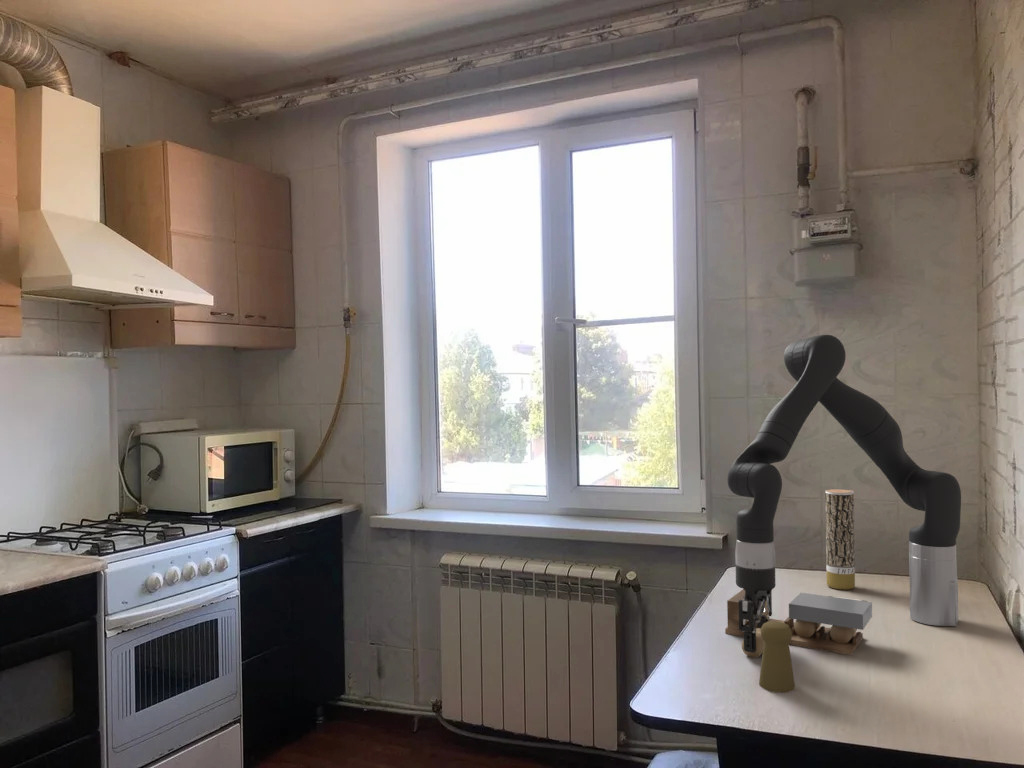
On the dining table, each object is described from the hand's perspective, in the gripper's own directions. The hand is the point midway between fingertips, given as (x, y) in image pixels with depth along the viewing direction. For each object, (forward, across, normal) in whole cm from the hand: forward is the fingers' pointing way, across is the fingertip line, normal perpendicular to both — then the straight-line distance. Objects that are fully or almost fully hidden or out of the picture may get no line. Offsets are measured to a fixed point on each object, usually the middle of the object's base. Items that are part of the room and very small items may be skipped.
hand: (756, 645), depth 151 cm
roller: (+1, 0, 0) cm, 1 cm away
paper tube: (+1, +60, -4) cm, 60 cm away
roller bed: (+1, +14, -4) cm, 15 cm away
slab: (-4, +14, -11) cm, 18 cm away
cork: (+2, -15, -8) cm, 17 cm away
